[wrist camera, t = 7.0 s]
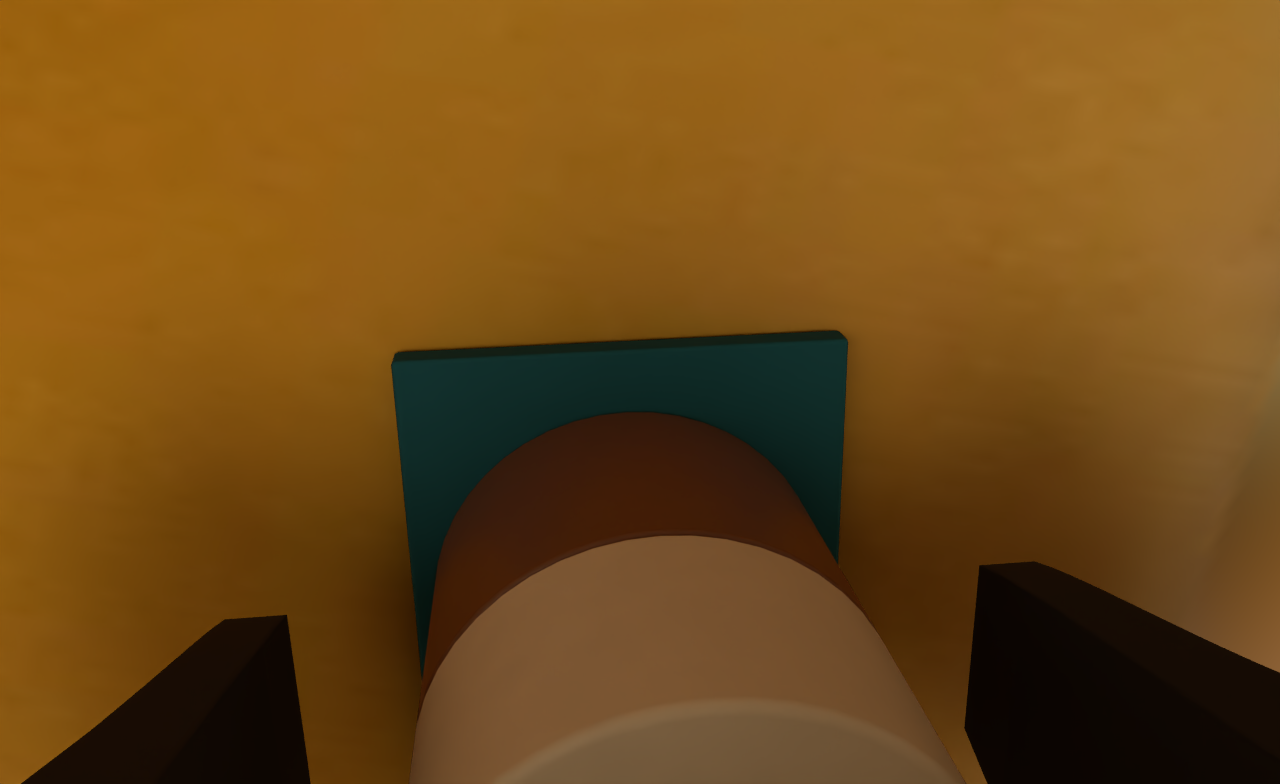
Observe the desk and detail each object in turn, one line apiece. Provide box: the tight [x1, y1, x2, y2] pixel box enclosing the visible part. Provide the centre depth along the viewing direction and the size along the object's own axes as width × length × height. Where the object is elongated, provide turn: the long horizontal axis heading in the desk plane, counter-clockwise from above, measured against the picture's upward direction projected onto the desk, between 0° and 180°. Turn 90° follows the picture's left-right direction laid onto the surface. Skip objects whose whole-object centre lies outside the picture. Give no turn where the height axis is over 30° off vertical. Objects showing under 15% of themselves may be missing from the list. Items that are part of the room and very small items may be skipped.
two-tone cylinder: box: [409, 412, 966, 784], centre depth 10 cm, size 4×4×6 cm
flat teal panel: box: [391, 331, 848, 679], centre depth 13 cm, size 6×5×1 cm
